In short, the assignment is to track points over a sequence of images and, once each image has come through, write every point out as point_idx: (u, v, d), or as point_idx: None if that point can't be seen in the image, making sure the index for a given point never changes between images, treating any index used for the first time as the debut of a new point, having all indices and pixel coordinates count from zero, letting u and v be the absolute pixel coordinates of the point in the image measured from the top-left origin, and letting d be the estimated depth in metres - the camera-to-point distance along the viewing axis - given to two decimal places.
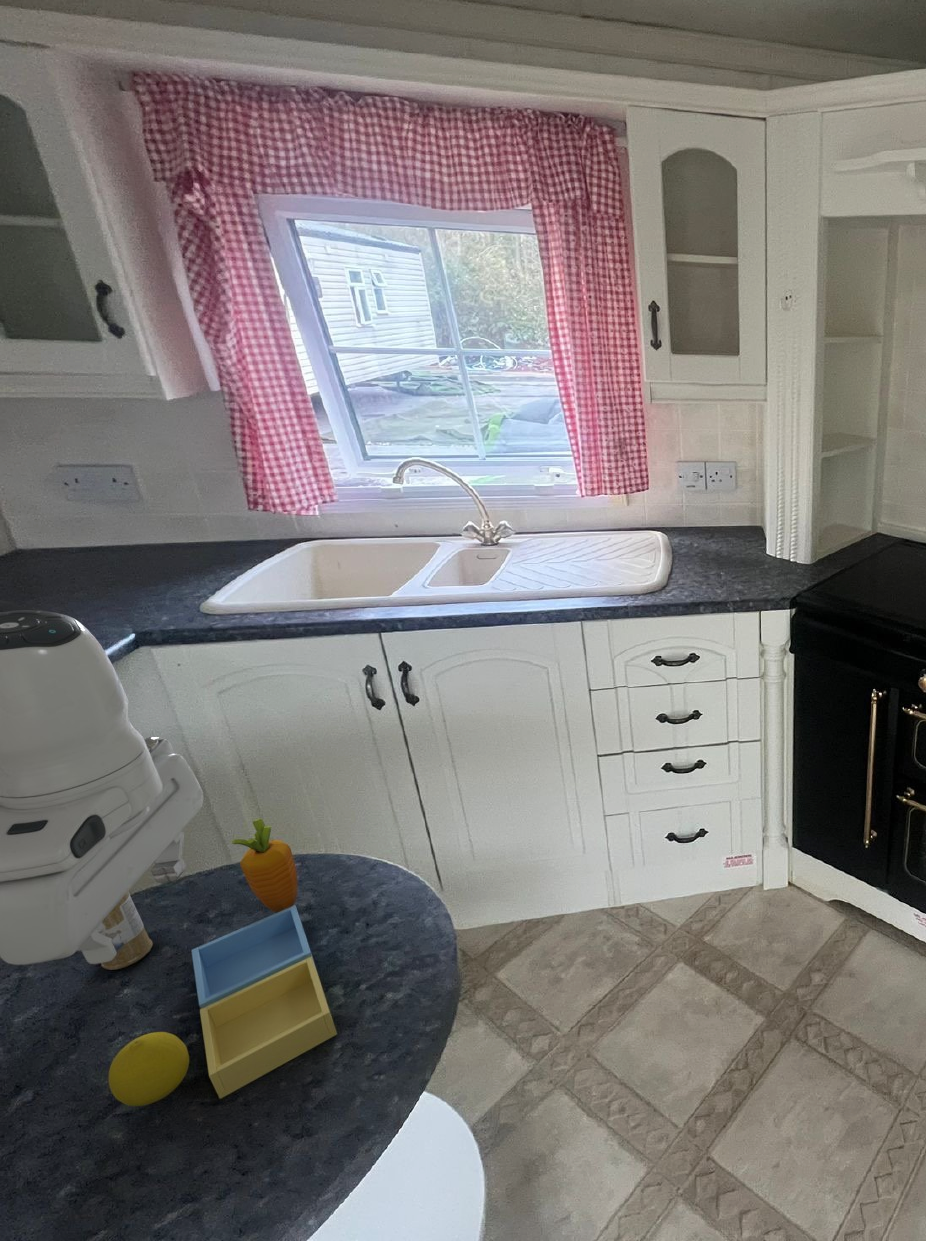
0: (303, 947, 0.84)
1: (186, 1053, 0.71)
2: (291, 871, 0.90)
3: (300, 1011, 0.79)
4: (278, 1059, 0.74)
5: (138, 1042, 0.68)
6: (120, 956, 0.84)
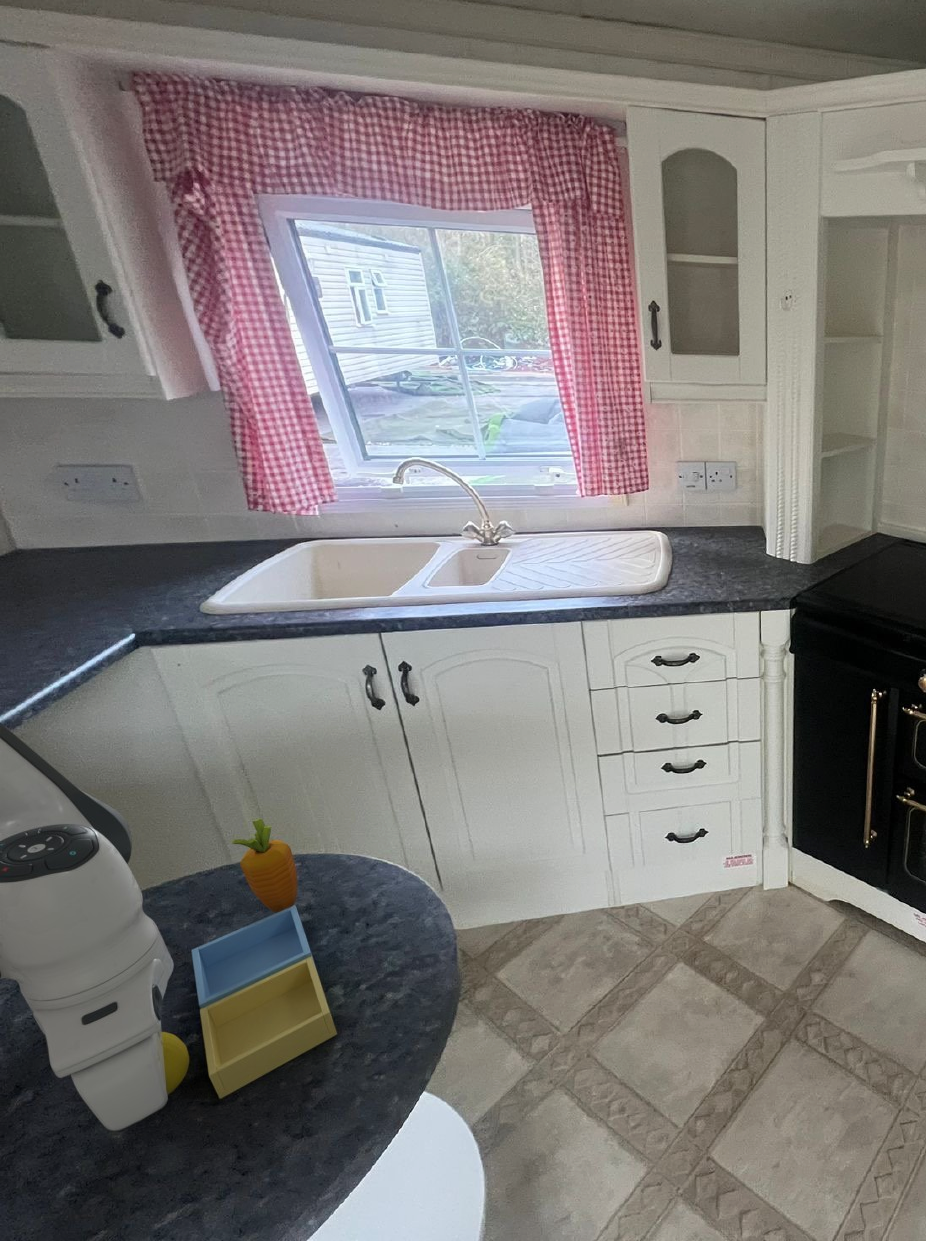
0: (303, 947, 0.84)
1: (186, 1053, 0.71)
2: (291, 871, 0.90)
3: (300, 1011, 0.79)
4: (278, 1059, 0.74)
5: None
6: None
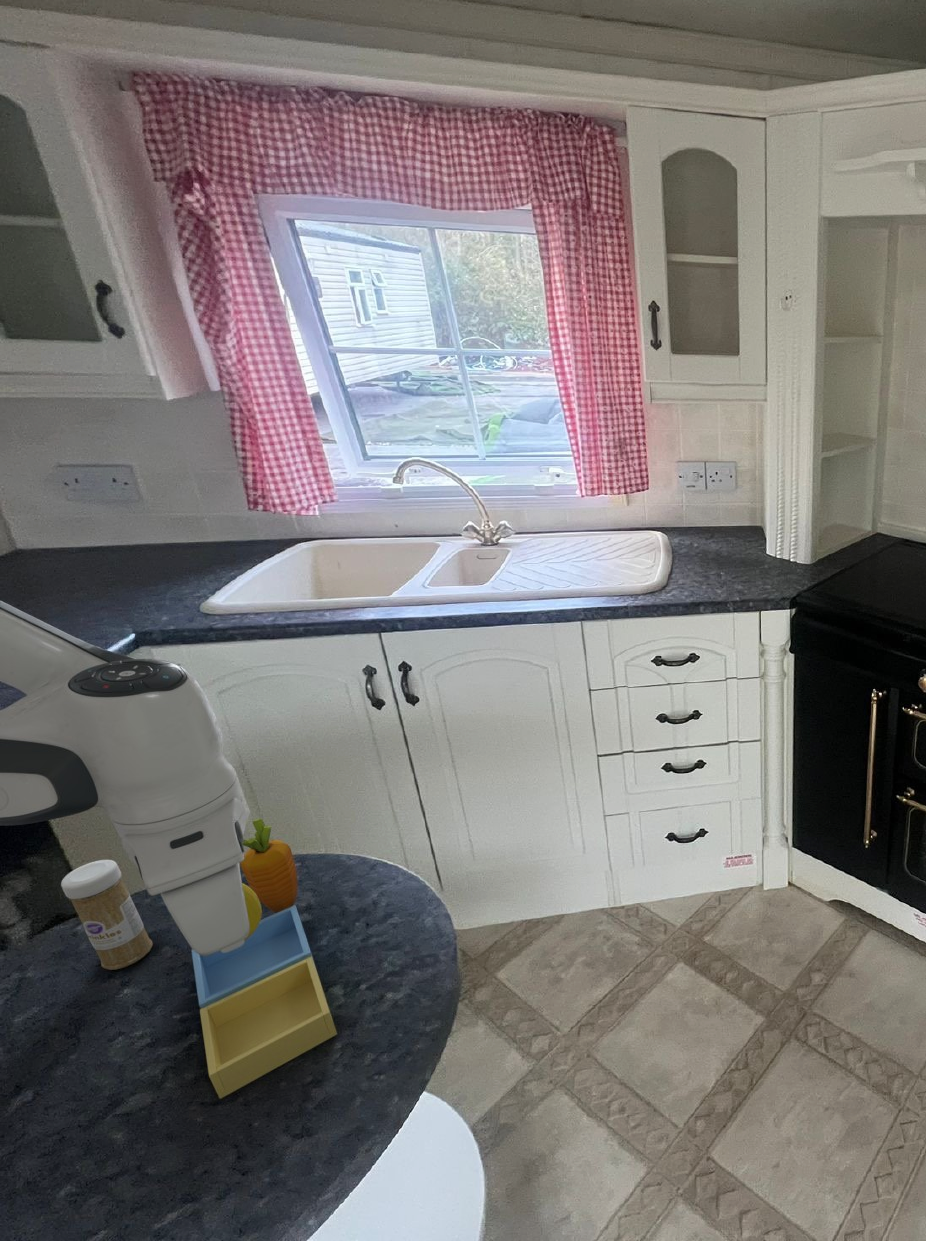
0: (303, 947, 0.84)
1: (259, 903, 0.73)
2: (291, 871, 0.90)
3: (300, 1011, 0.79)
4: (278, 1059, 0.74)
5: None
6: (120, 956, 0.84)
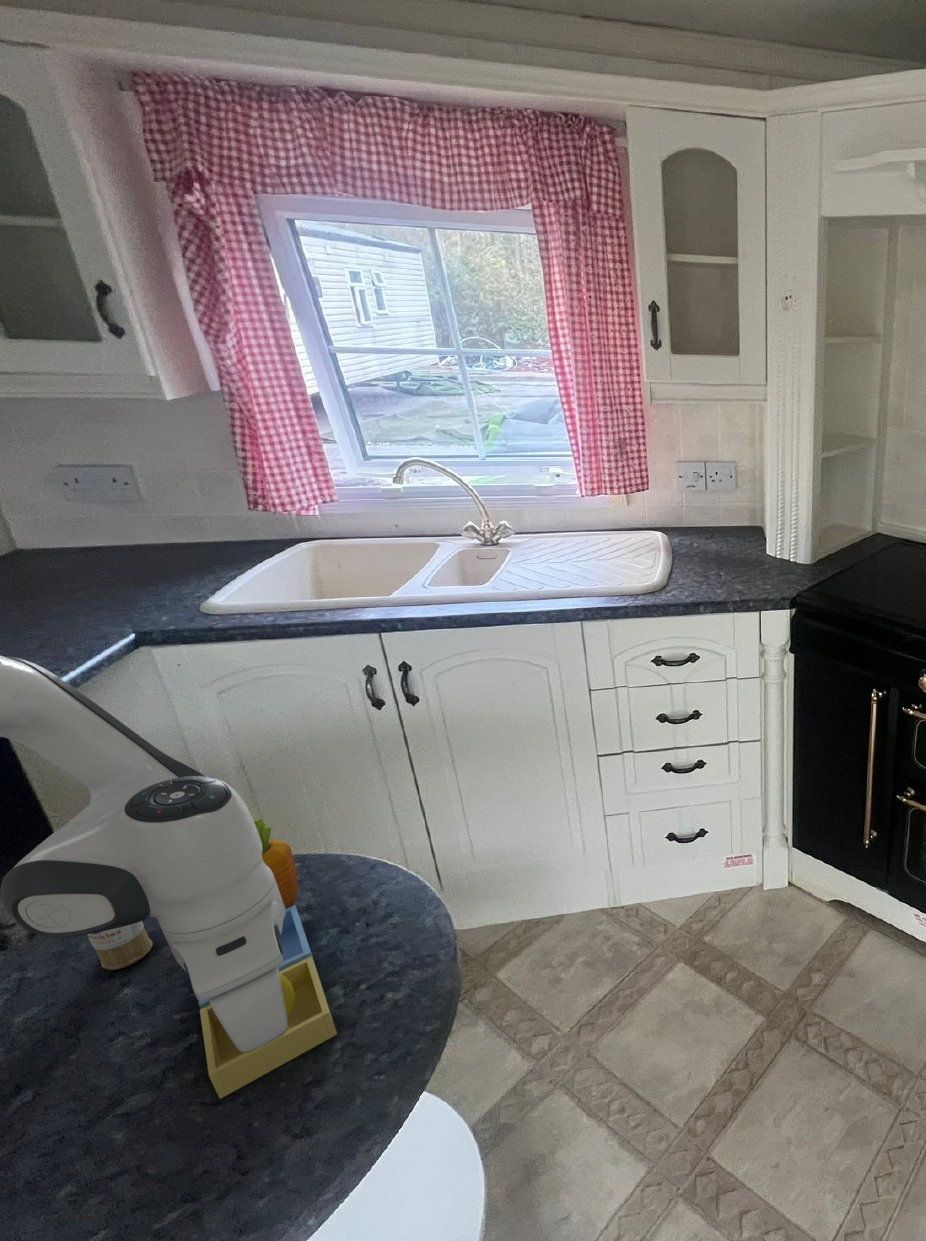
0: (303, 947, 0.84)
1: (293, 991, 0.77)
2: (291, 871, 0.90)
3: (300, 1011, 0.79)
4: (278, 1059, 0.74)
5: None
6: (120, 956, 0.84)
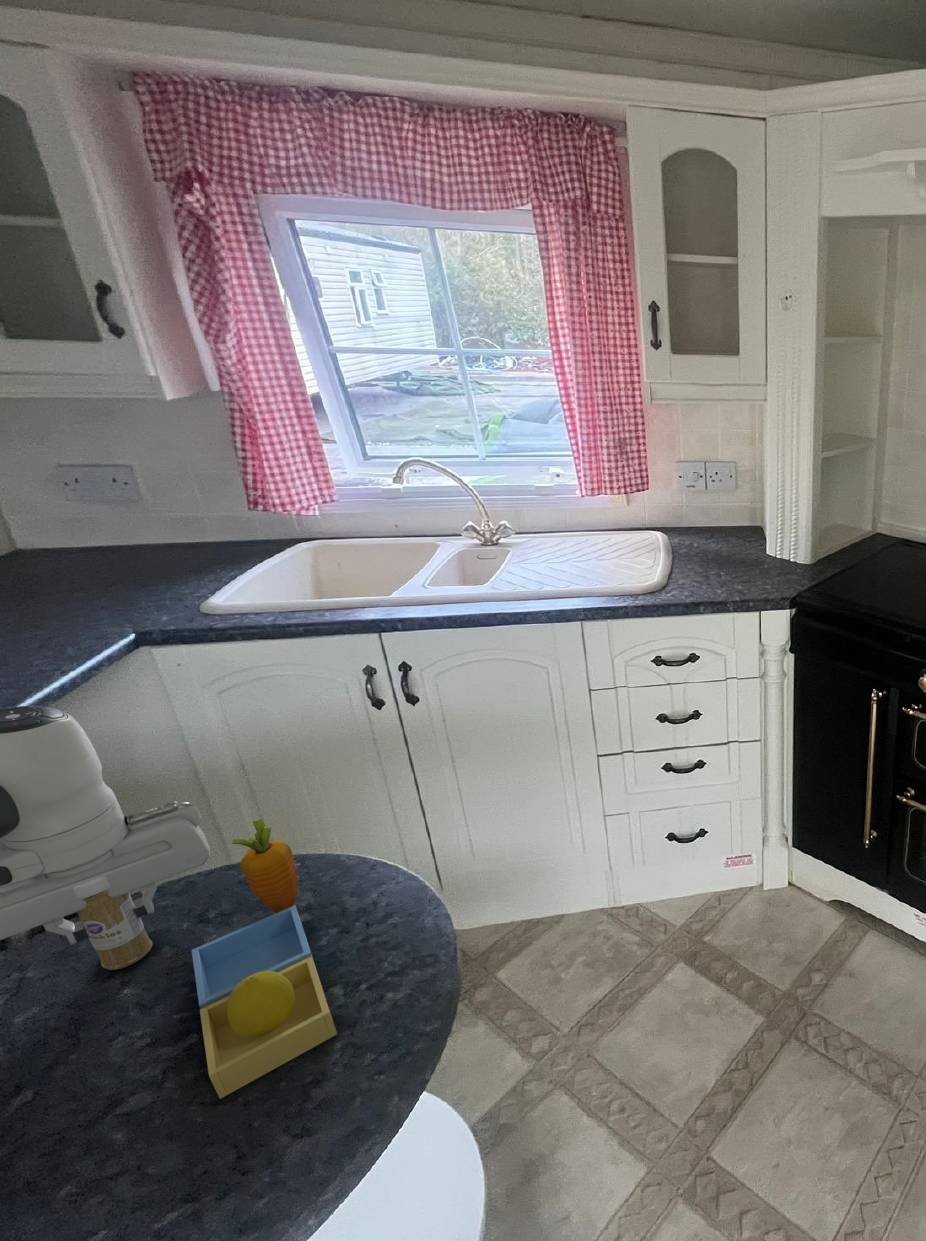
0: (303, 947, 0.84)
1: (293, 991, 0.77)
2: (291, 871, 0.90)
3: (300, 1011, 0.79)
4: (278, 1059, 0.74)
5: (253, 978, 0.74)
6: (121, 956, 0.84)
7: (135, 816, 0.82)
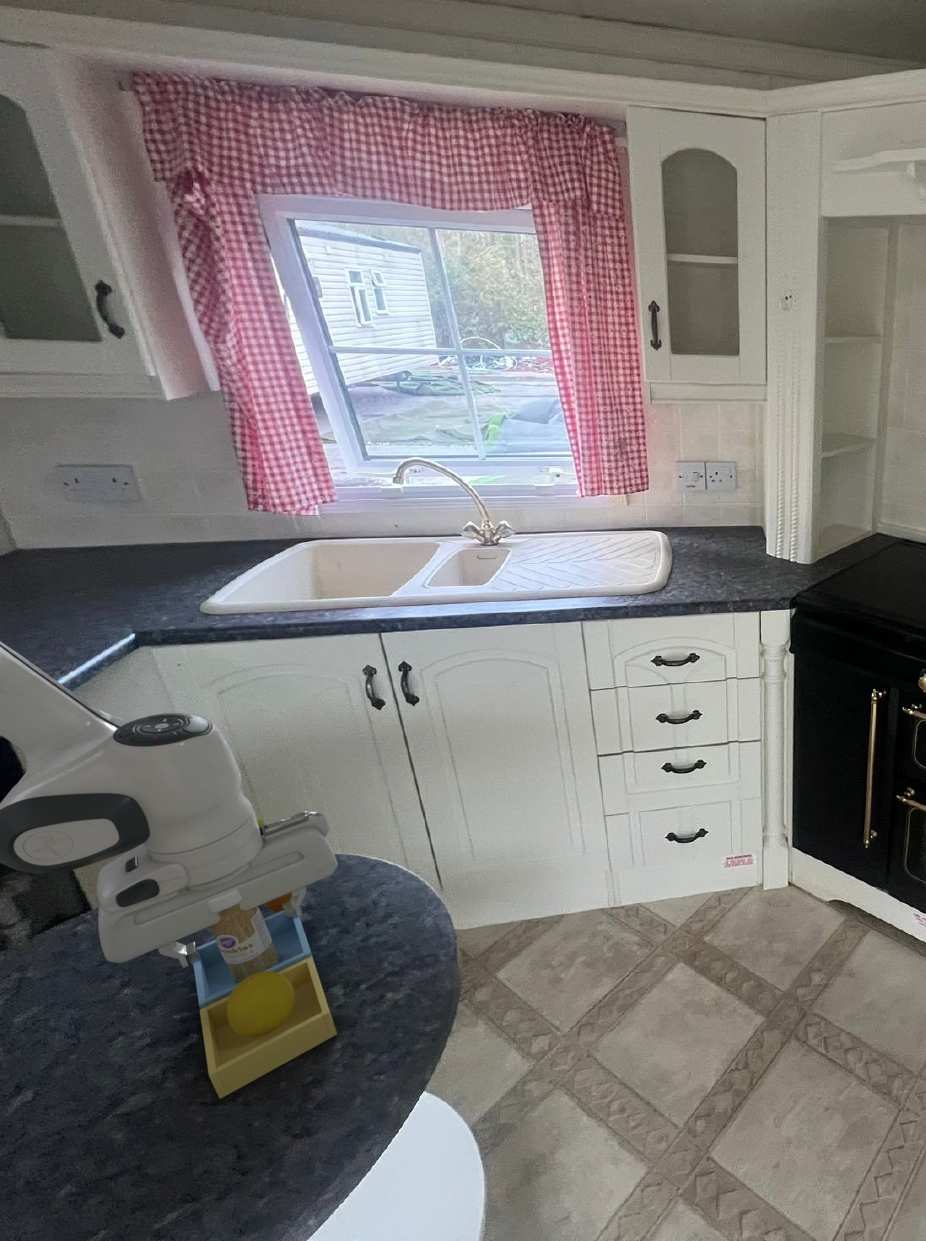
0: (303, 947, 0.84)
1: (293, 991, 0.77)
2: None
3: (300, 1011, 0.79)
4: (278, 1059, 0.74)
5: (253, 978, 0.74)
6: (252, 970, 0.82)
7: (269, 826, 0.81)
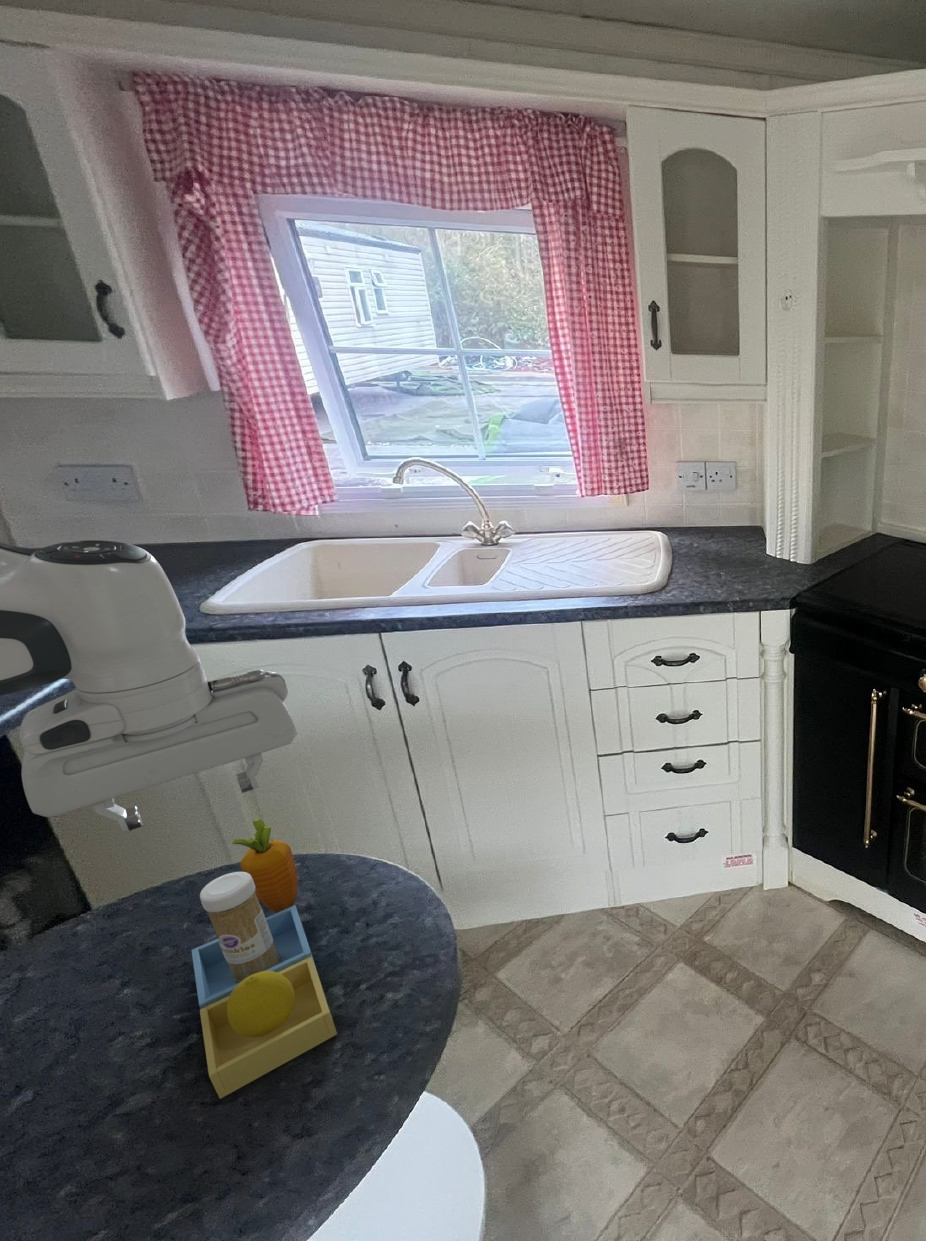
0: (303, 947, 0.84)
1: (293, 991, 0.77)
2: (291, 871, 0.90)
3: (300, 1011, 0.79)
4: (278, 1059, 0.74)
5: (253, 978, 0.74)
6: (253, 970, 0.82)
7: (219, 681, 0.73)
